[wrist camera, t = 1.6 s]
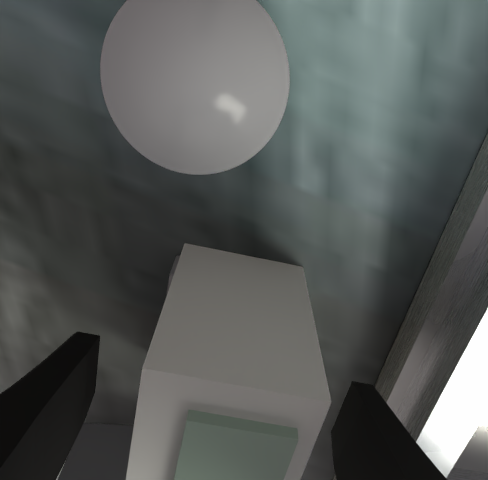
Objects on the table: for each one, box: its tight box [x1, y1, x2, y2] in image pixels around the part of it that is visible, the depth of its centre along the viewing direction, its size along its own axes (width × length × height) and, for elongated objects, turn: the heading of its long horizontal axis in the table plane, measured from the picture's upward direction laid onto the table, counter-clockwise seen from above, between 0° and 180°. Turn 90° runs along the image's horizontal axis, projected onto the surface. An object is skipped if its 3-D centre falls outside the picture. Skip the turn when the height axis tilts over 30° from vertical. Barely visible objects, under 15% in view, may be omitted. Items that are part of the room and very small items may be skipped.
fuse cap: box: [100, 0, 290, 175], centre depth 10 cm, size 3×3×5 cm
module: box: [126, 243, 331, 480], centre depth 13 cm, size 5×4×6 cm
